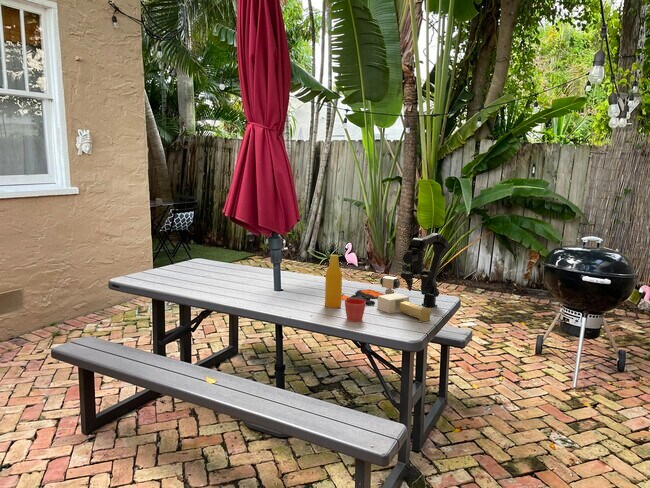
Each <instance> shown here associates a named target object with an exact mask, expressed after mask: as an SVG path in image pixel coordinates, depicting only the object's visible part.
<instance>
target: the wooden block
mask: <svg viewBox="0 0 650 488" xmlns="http://www.w3.org/2000/svg"><path fill="white" fill-rule="evenodd" d="M431 308H432V307H425V306H424V307H423V306H420V305H418V304H415V303H412V302H410V301H409V302H407V301H406V302H400V308H399V311H398V312H400V313H404V314H406V315H408V316H410V317H414V318H417V319H418V320H419V321H420V323H422V322H423V323H424V322H428V321H430V320H431V311H432V309H431Z"/></svg>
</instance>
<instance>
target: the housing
mask: <svg viewBox="0 0 650 488" xmlns="http://www.w3.org/2000/svg"><path fill="white" fill-rule="evenodd" d="M406 301H407V302H410V297H409V296H407V295H405V294H401V293H399V292H394V293H393V294H387V295H386V294H385V295H381V296H378V299H377V309H378V310H381V311H383V312H386V313H387V314H391V313H392V314H393V313H398V312H400V311H399V308H400V302H406Z"/></svg>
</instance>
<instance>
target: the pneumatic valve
mask: <svg viewBox="0 0 650 488" xmlns="http://www.w3.org/2000/svg"><path fill="white" fill-rule="evenodd" d="M379 281H380V282H379V284H380V285H381V288H385V292H384V294H385V295H387V294H393V293H395V291H394V290H397V289H398V288H399V287H401V286H400V285H401V281H400V280H399V277H393V276H392V275H389V276H387V275H385V276H382V277H381V278H380V280H379Z"/></svg>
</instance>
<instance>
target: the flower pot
mask: <svg viewBox="0 0 650 488" xmlns="http://www.w3.org/2000/svg"><path fill="white" fill-rule="evenodd" d="M366 305H367V304H366V302H365V301H364V300H361V299H347V300H344V308H345V315H346V316H345V317H346V320H347V321H348V322H353V323H356V322H358V323H359V322H361V321H363V318H364V312H365V308H366Z"/></svg>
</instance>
